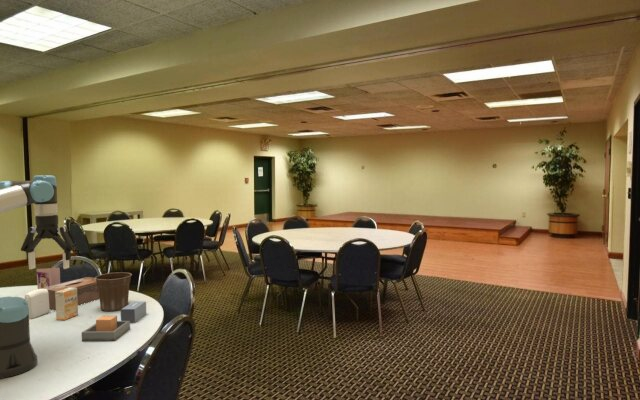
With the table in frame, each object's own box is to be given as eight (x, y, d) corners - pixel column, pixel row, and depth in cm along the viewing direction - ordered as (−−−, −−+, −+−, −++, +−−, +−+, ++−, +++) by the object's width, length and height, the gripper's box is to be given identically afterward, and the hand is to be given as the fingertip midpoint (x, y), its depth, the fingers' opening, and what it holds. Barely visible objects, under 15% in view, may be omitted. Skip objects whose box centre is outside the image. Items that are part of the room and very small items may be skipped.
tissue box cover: (88, 294, 233) (87, 276, 232) (106, 297, 227) (105, 279, 226) (41, 308, 209) (40, 288, 208) (60, 311, 203) (59, 291, 203)
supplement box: (65, 320, 189) (63, 292, 188) (55, 320, 190) (54, 291, 189) (78, 314, 197) (77, 287, 197) (70, 314, 198) (68, 287, 197)
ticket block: (134, 322, 185) (134, 309, 185) (121, 322, 185) (120, 309, 185) (146, 313, 197) (146, 301, 197) (133, 314, 197) (133, 301, 197)
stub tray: (114, 340, 165) (114, 332, 164) (81, 341, 165) (81, 332, 165) (130, 328, 178) (129, 320, 177) (99, 329, 178) (99, 321, 178)
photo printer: (30, 319, 191) (29, 292, 191) (23, 318, 193) (22, 292, 192) (51, 312, 201) (50, 287, 201) (44, 311, 203) (43, 286, 202)
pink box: (36, 296, 230) (34, 269, 229) (49, 292, 237) (48, 266, 236) (50, 298, 226) (48, 270, 225) (63, 294, 232) (62, 267, 232)
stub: (111, 334, 169) (110, 319, 169) (96, 334, 169) (95, 319, 169) (117, 329, 174) (116, 315, 174) (103, 329, 174) (102, 315, 174)
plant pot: (130, 300, 219) (129, 270, 218) (135, 309, 205) (134, 276, 204) (95, 306, 210) (93, 274, 209) (97, 315, 196) (96, 281, 195)
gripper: (83, 213, 167) (86, 266, 168) (22, 214, 168) (24, 266, 169) (72, 215, 160) (75, 270, 161) (7, 216, 160) (10, 270, 161)
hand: (49, 268), depth 165 cm, fingers open, 13 cm apart
